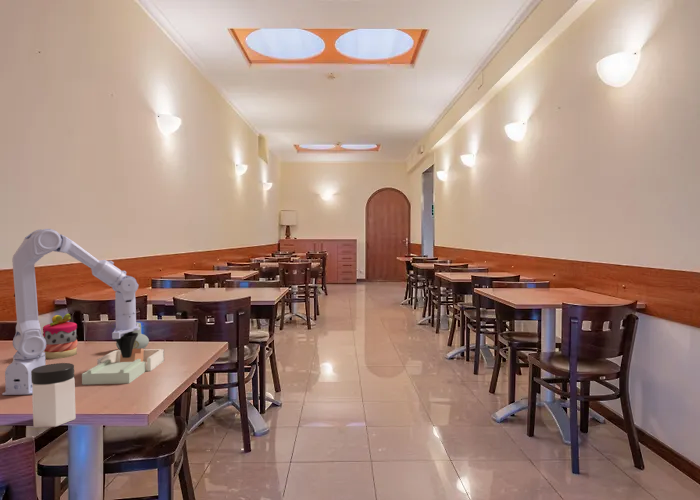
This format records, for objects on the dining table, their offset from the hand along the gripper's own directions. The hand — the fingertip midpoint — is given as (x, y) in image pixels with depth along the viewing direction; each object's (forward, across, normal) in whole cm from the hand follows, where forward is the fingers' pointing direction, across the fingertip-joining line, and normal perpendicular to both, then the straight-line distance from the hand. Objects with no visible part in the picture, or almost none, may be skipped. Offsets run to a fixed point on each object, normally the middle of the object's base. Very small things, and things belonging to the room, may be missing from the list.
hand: (126, 357), depth 144 cm
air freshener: (+4, +26, +9) cm, 28 cm away
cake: (+4, +22, +32) cm, 39 cm away
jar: (+4, -40, -1) cm, 41 cm away
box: (+4, +4, 0) cm, 6 cm away
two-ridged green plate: (+4, -8, 0) cm, 9 cm away
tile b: (+1, +5, 0) cm, 5 cm away
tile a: (+2, +2, 0) cm, 3 cm away
